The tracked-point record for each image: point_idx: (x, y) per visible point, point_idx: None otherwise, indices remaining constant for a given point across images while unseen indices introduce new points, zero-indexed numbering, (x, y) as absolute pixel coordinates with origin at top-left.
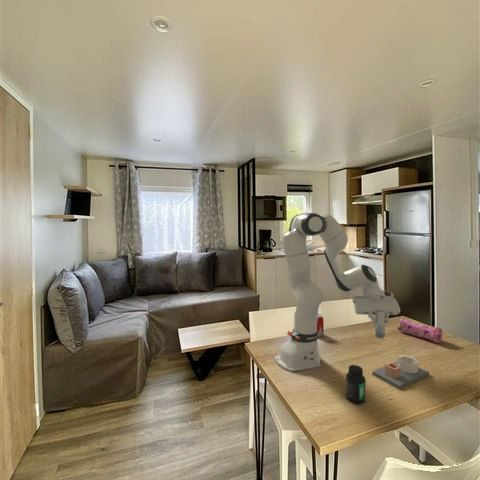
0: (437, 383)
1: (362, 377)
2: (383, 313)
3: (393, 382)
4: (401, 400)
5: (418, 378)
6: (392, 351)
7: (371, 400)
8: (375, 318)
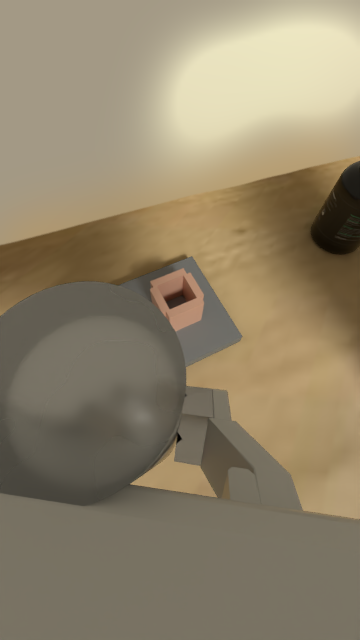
0: (48, 283)
1: (358, 163)
2: (74, 292)
3: (200, 271)
4: (213, 225)
5: None
6: None
7: (292, 229)
8: (189, 410)
